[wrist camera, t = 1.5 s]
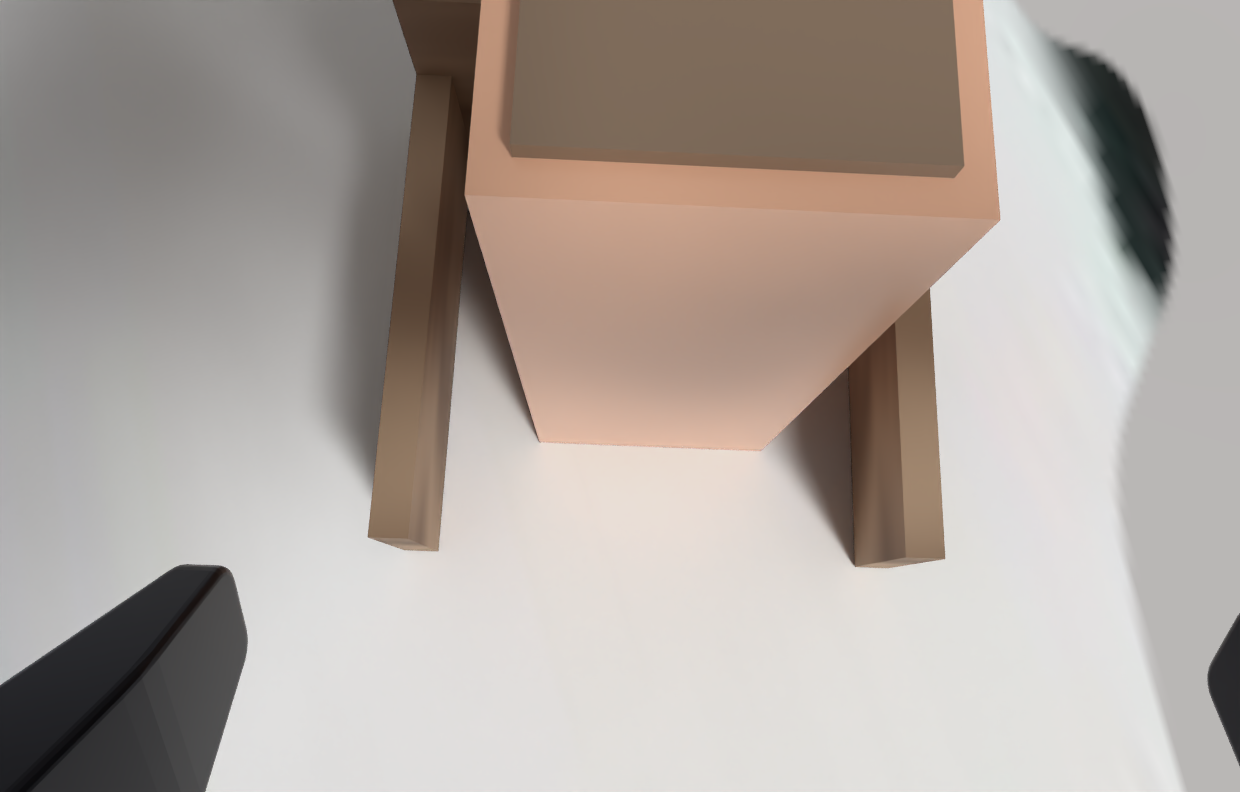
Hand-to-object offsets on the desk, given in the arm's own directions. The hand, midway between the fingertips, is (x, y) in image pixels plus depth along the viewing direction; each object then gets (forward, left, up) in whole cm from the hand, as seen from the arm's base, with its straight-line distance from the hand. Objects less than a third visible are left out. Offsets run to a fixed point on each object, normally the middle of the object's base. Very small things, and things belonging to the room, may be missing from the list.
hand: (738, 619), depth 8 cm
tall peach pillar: (+6, -4, -13) cm, 15 cm away
